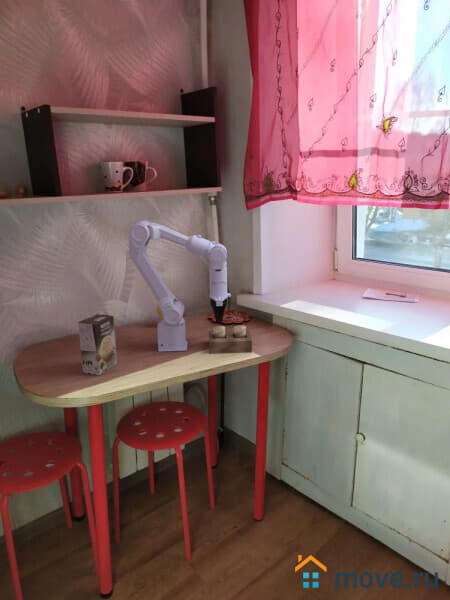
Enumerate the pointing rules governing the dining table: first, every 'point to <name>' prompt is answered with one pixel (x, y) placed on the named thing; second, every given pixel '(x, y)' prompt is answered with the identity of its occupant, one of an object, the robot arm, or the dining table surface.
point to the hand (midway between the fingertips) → (219, 320)
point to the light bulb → (159, 313)
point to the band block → (230, 343)
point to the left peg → (218, 332)
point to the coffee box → (97, 344)
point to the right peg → (239, 331)
